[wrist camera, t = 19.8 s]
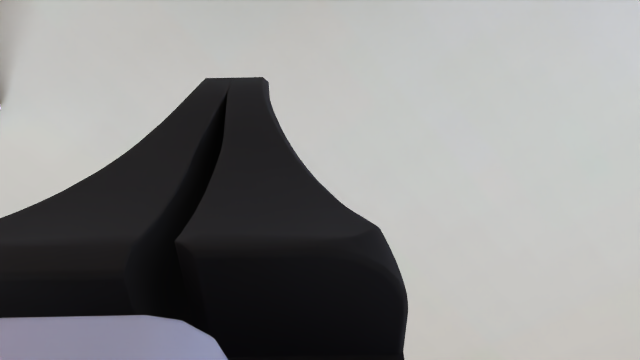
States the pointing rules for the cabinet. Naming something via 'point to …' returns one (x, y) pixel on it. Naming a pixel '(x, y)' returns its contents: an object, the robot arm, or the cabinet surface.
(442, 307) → the cabinet surface
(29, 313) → the robot arm
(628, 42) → the cabinet surface
